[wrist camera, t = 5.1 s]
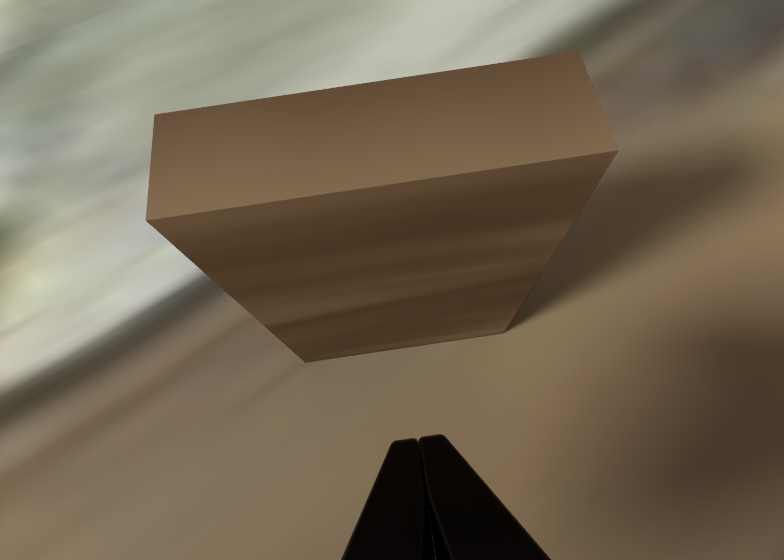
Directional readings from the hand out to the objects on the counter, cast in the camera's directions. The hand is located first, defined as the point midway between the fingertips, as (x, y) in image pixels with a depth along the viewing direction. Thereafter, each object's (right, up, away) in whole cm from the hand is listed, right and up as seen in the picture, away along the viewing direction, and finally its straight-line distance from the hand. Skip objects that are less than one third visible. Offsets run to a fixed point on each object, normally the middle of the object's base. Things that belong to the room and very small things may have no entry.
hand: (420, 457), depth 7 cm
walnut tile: (0, +1, +9) cm, 9 cm away
